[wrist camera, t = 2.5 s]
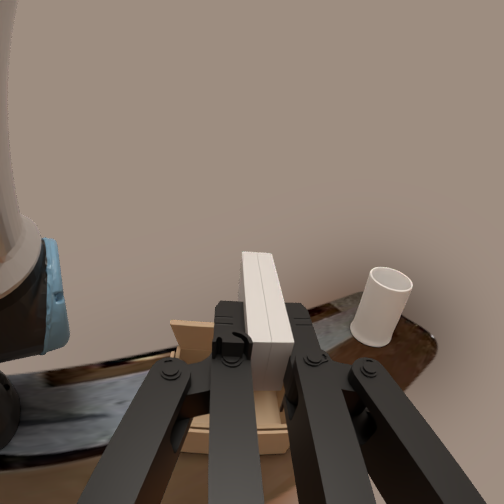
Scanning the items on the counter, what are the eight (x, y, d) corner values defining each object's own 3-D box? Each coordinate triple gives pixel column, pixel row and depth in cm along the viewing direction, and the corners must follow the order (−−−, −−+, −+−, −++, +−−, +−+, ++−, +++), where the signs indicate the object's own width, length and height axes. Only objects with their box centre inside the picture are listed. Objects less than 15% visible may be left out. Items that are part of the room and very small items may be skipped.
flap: (180, 348, 35) (170, 324, 28) (180, 343, 36) (170, 318, 28) (281, 352, 37) (301, 330, 29) (281, 348, 37) (300, 324, 29)
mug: (383, 311, 57) (401, 261, 52) (409, 335, 50) (432, 284, 45) (341, 323, 53) (359, 268, 48) (367, 352, 46) (392, 296, 41)
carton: (165, 450, 27) (157, 427, 25) (175, 374, 39) (172, 345, 36) (294, 453, 29) (306, 431, 26) (281, 378, 40) (288, 350, 38)
